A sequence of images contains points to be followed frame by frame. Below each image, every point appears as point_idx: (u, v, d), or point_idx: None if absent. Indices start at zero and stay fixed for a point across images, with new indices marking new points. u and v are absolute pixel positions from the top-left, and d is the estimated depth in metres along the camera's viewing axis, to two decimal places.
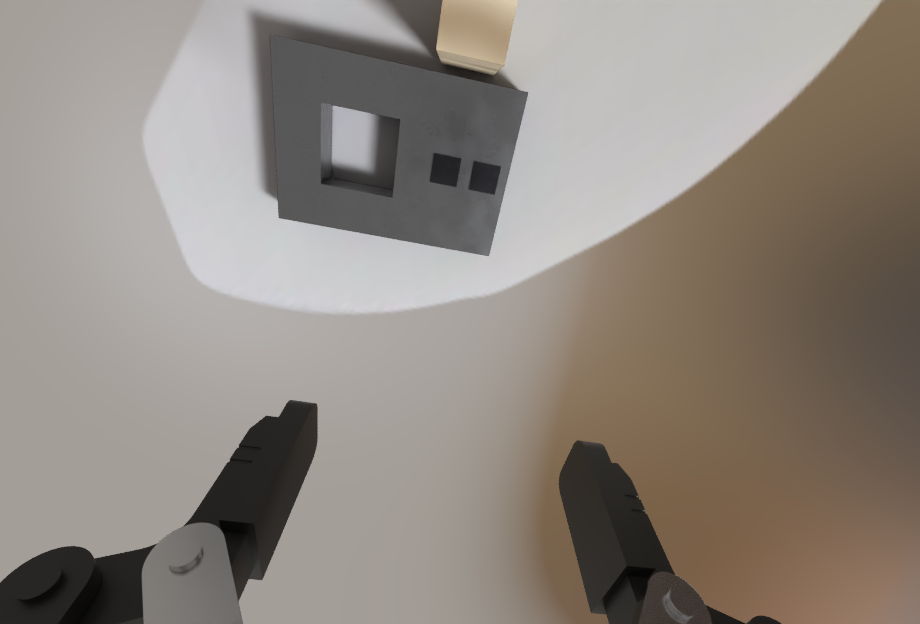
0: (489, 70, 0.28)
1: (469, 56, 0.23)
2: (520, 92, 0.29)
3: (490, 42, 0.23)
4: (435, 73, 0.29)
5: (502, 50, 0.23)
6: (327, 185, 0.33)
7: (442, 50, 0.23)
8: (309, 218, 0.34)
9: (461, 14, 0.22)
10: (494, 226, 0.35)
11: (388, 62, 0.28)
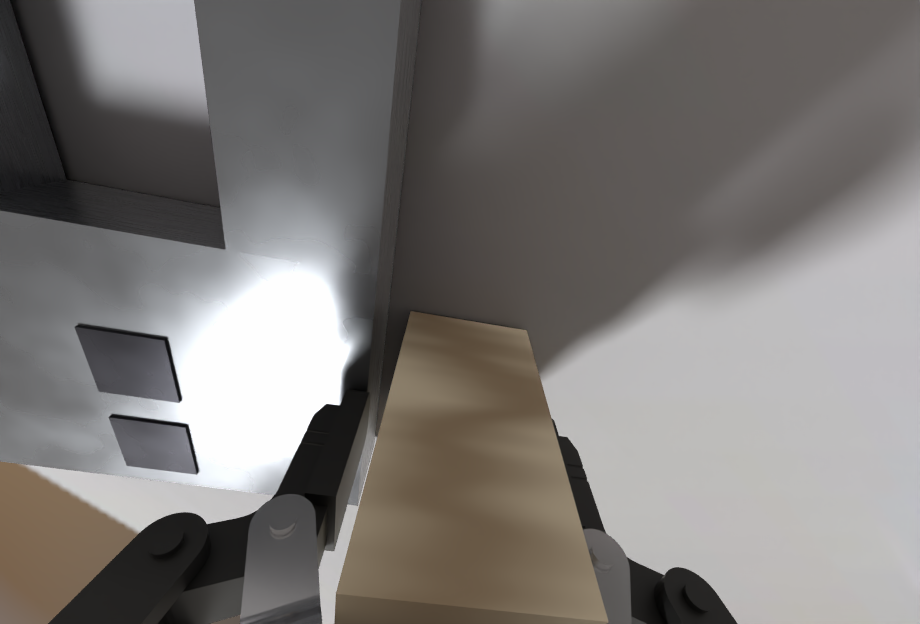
0: None
1: None
2: (355, 495, 0.14)
3: None
4: (366, 348, 0.11)
5: None
6: None
7: (339, 600, 0.06)
8: None
9: None
10: (50, 465, 0.13)
11: (377, 226, 0.09)
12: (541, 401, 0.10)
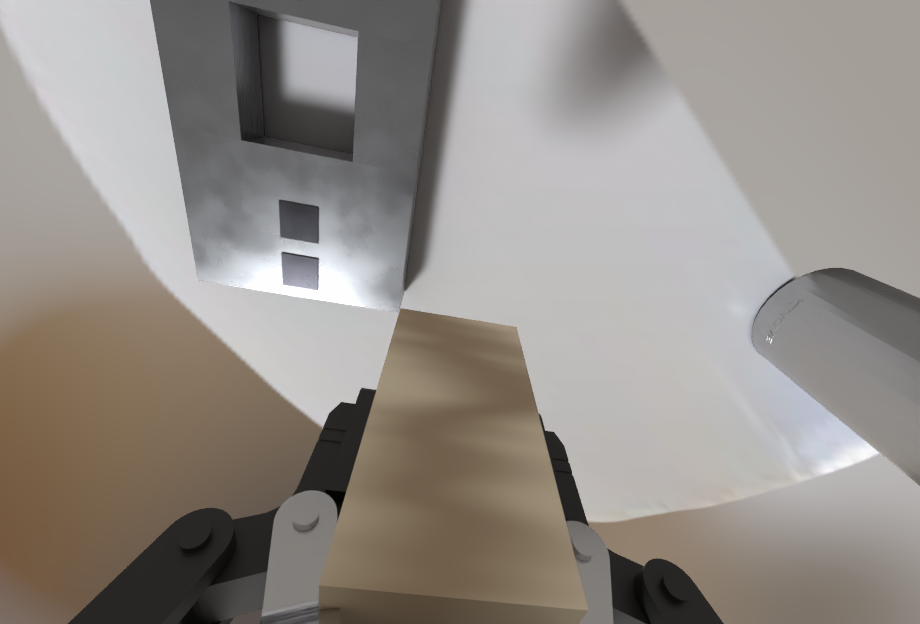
0: None
1: None
2: (397, 305, 0.27)
3: None
4: (409, 212, 0.24)
5: None
6: (230, 15, 0.19)
7: None
8: None
9: None
10: (242, 286, 0.26)
11: (417, 151, 0.22)
12: (529, 396, 0.11)
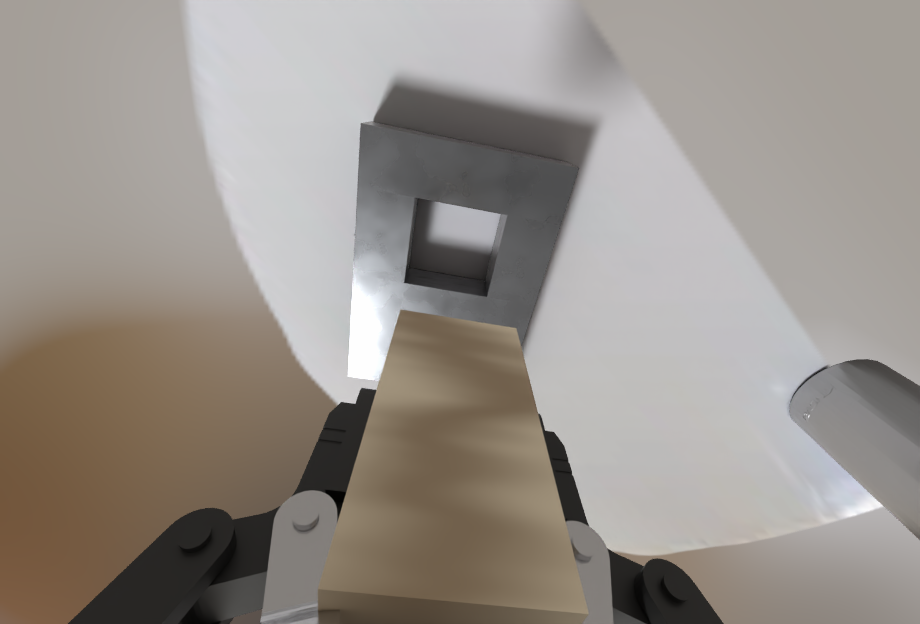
0: None
1: None
2: None
3: None
4: (524, 330, 0.30)
5: None
6: (413, 205, 0.25)
7: None
8: (365, 172, 0.24)
9: None
10: None
11: (538, 289, 0.28)
12: (529, 398, 0.11)
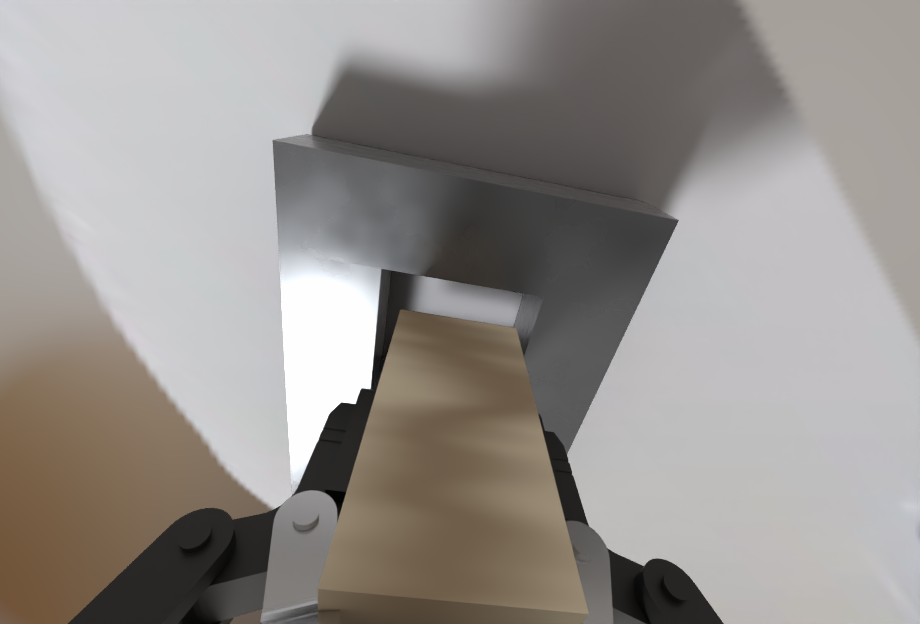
0: None
1: None
2: None
3: None
4: None
5: None
6: (380, 280, 0.14)
7: None
8: (291, 227, 0.13)
9: None
10: None
11: (588, 404, 0.17)
12: (529, 398, 0.11)
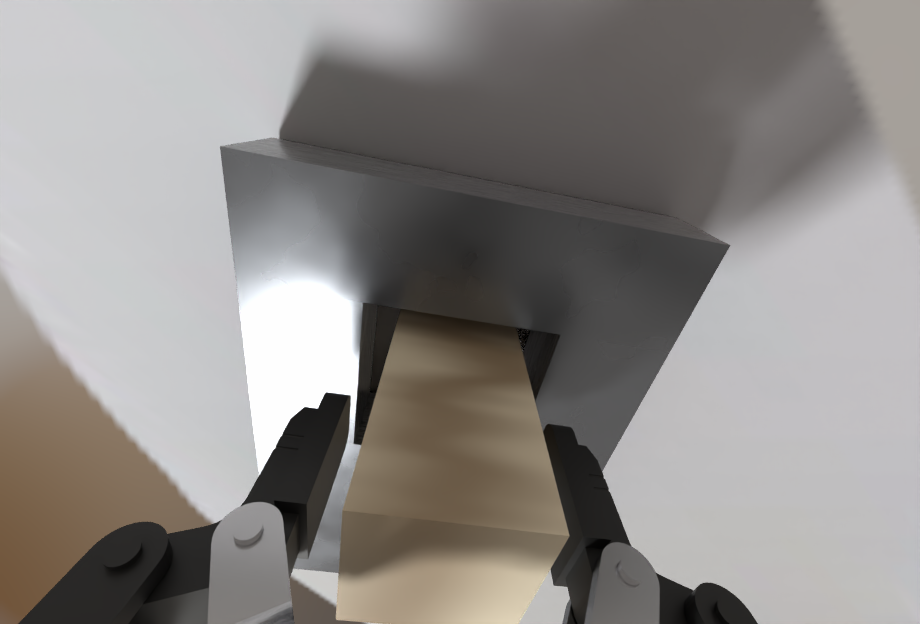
0: None
1: (340, 569, 0.08)
2: None
3: (379, 600, 0.08)
4: None
5: (367, 616, 0.09)
6: (362, 316, 0.12)
7: None
8: (249, 254, 0.11)
9: (437, 557, 0.08)
10: (328, 570, 0.19)
11: (609, 454, 0.15)
12: (522, 370, 0.12)
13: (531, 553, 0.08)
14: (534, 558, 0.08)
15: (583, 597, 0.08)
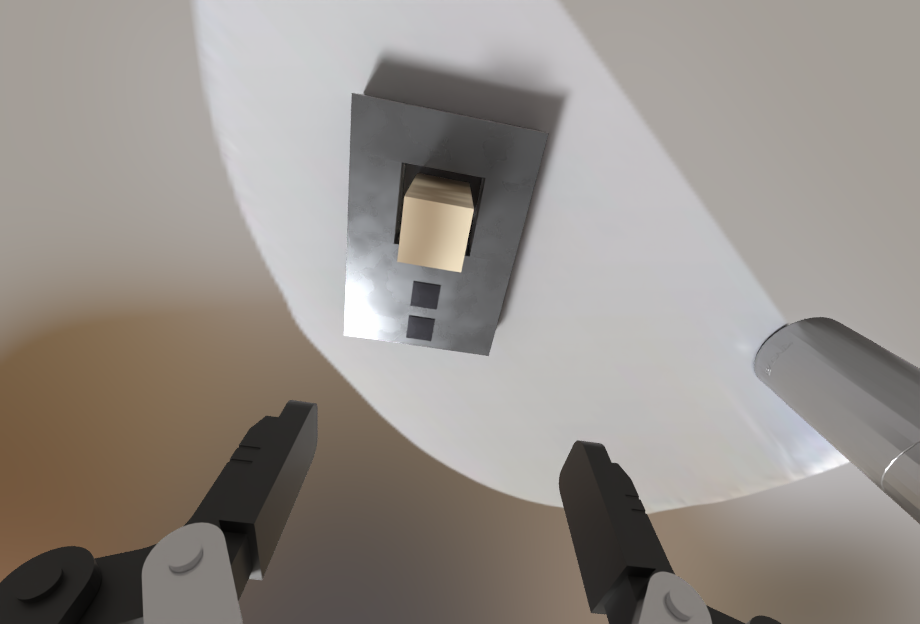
0: None
1: (401, 229, 0.24)
2: (488, 350, 0.36)
3: (413, 248, 0.24)
4: (505, 288, 0.33)
5: (408, 259, 0.25)
6: (401, 170, 0.28)
7: (404, 202, 0.23)
8: (357, 139, 0.27)
9: (433, 221, 0.24)
10: (375, 338, 0.35)
11: (516, 249, 0.31)
12: (469, 191, 0.28)
13: (462, 218, 0.24)
14: (464, 221, 0.24)
15: (626, 623, 0.08)
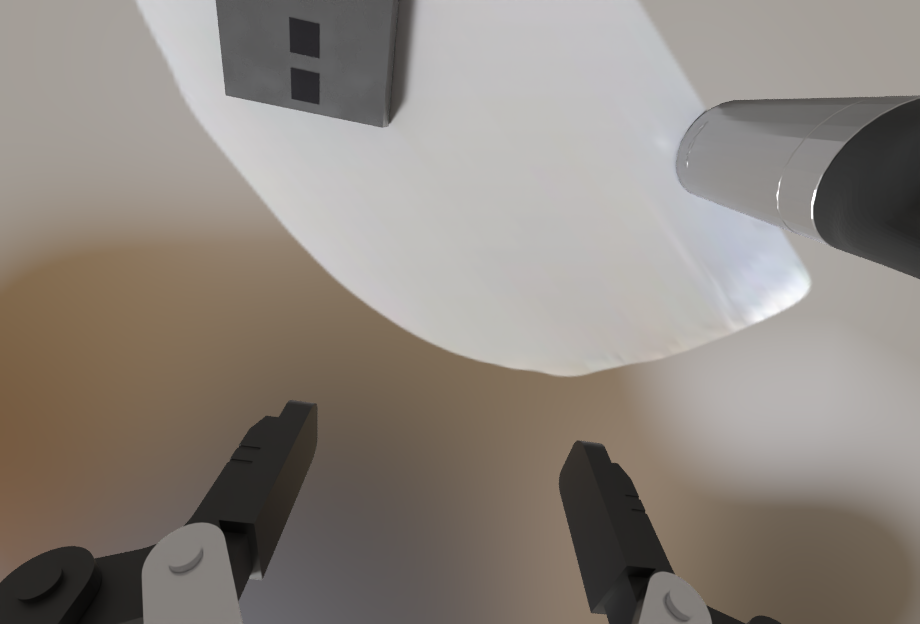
0: None
1: None
2: (381, 120, 0.34)
3: None
4: (388, 28, 0.31)
5: None
6: None
7: None
8: None
9: None
10: (259, 100, 0.33)
11: None
12: None
13: None
14: None
15: (625, 623, 0.08)
